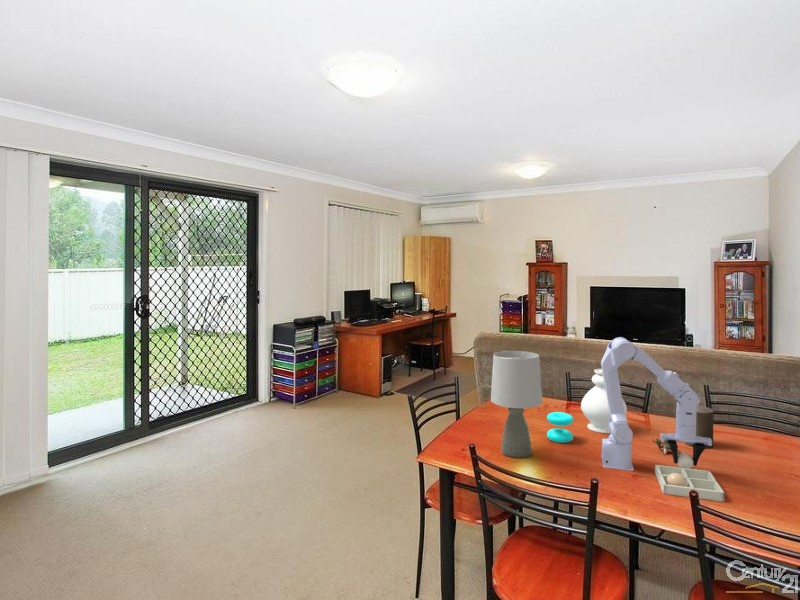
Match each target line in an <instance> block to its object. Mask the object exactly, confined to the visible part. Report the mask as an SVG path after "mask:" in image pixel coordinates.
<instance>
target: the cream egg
mask: <svg viewBox="0 0 800 600" xmlns="http://www.w3.org/2000/svg"><path fill="white" fill-rule="evenodd" d="M693 464H694V460H693V456H691V455H690V454H688V453H685V452H681V454H679V455H678V456H677V464H676V465H678V467H679V468H688V469H692V468H693V466H694V465H693Z"/></svg>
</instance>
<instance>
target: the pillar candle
mask: <svg viewBox="0 0 800 600" xmlns="http://www.w3.org/2000/svg"><path fill="white" fill-rule="evenodd" d="M714 413H715V412H714V410H713V409H712V408H710V407H706V406H701V405H697V406H696V436H699V437H705V438H710V439H711V440H712V446H713V447H714ZM687 444H688V446H690V445H691V446H690V447H693V443H686V444H685V445H687ZM704 446H705V449H711V448H713V447H712V446H708V445H705V444H704Z"/></svg>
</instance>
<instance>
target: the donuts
mask: <svg viewBox="0 0 800 600" xmlns="http://www.w3.org/2000/svg"><path fill="white" fill-rule="evenodd" d="M546 420H547V421H548V423H550V424H552V425H554V426H558V427H565V426H570V425H573V422H574V417H573V416H572V414H570V413H566V412H561V411H555V412H550V413H548V414H547V417H546ZM546 436H547V438H548V439H549V441H552V442H554V443H559V444H560V443H561V444H564V443H565V444H566V443H570V442H572V441H573V439H574V435H573V433H572V432H571V431H570V430H568V429H565V428H557V427H556V428H551V429H549V430H547V433H546Z"/></svg>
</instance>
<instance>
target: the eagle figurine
mask: <svg viewBox="0 0 800 600" xmlns="http://www.w3.org/2000/svg"><path fill="white" fill-rule="evenodd" d="M651 440H652V442H653V443H654V444H656V446H658V450H659V449H660V450H661V449H663V455H666V454H667V452H668V450H669V451H671V449H670V446H669V444H668V442H667V441H666V440H665V441H661V439H660V438H658V437H657V438H656V439H655V440H654V439H653V438H651ZM681 453H682V451H680V449H679V448H678V449H677V456H678V455H679V454H681Z"/></svg>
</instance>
